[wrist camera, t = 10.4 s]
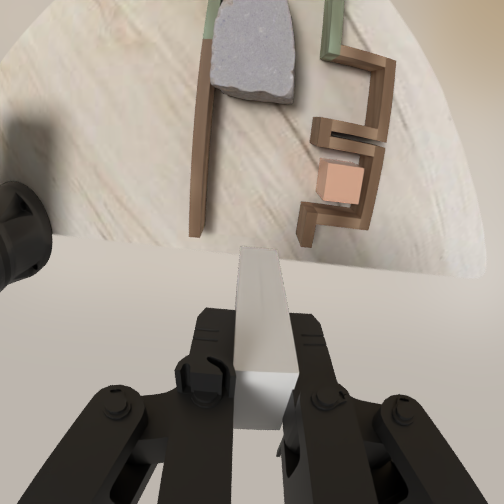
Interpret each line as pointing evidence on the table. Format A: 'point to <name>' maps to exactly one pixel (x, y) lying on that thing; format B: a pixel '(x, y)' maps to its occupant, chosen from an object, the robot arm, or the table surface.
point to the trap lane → (320, 132)
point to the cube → (339, 181)
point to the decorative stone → (254, 51)
